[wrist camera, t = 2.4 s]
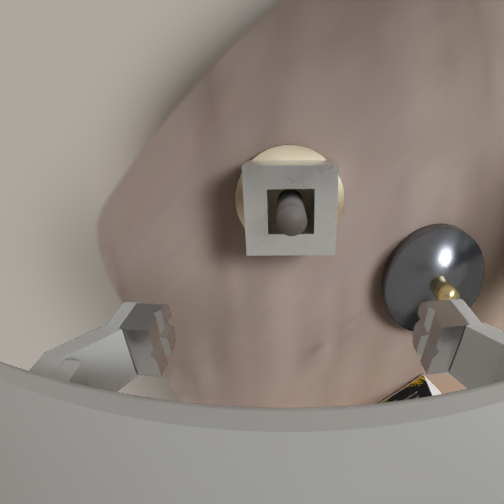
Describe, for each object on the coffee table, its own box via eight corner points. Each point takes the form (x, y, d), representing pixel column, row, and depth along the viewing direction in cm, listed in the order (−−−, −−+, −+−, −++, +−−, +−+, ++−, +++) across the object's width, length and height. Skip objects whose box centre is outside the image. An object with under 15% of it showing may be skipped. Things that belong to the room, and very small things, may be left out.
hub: (388, 222, 24) (405, 240, 20) (485, 225, 23) (509, 241, 19) (374, 326, 28) (384, 353, 24) (462, 319, 27) (479, 342, 23)
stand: (233, 146, 23) (218, 155, 18) (342, 145, 22) (361, 153, 17) (240, 247, 26) (228, 282, 21) (339, 246, 25) (354, 281, 20)
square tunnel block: (246, 160, 22) (241, 166, 20) (331, 159, 22) (338, 165, 19) (250, 239, 25) (246, 255, 22) (329, 239, 24) (335, 254, 21)
